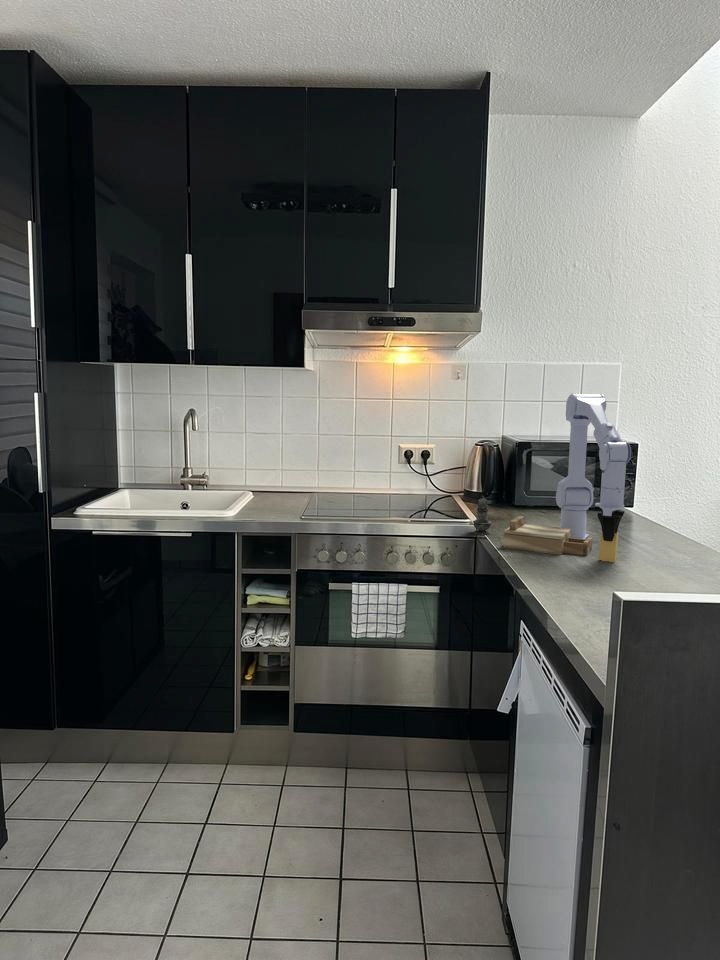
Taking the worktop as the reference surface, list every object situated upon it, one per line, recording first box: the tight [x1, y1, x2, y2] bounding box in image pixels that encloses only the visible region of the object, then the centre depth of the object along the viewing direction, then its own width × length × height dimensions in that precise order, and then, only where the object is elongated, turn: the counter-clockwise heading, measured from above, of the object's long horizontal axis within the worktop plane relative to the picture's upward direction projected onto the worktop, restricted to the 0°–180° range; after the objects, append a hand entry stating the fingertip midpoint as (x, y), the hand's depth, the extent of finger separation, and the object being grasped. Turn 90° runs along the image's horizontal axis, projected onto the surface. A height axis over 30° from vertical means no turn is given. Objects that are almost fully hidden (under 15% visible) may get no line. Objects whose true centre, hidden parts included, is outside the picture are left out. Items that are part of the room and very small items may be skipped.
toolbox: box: [502, 532, 593, 556], centre depth 185 cm, size 13×22×4 cm, turn 61°
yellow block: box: [598, 532, 620, 563], centre depth 172 cm, size 4×4×7 cm
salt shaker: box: [472, 495, 492, 536], centre depth 204 cm, size 6×6×12 cm
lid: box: [503, 515, 572, 540], centre depth 186 cm, size 13×16×3 cm
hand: (609, 539), depth 171 cm, fingers open, 4 cm apart
